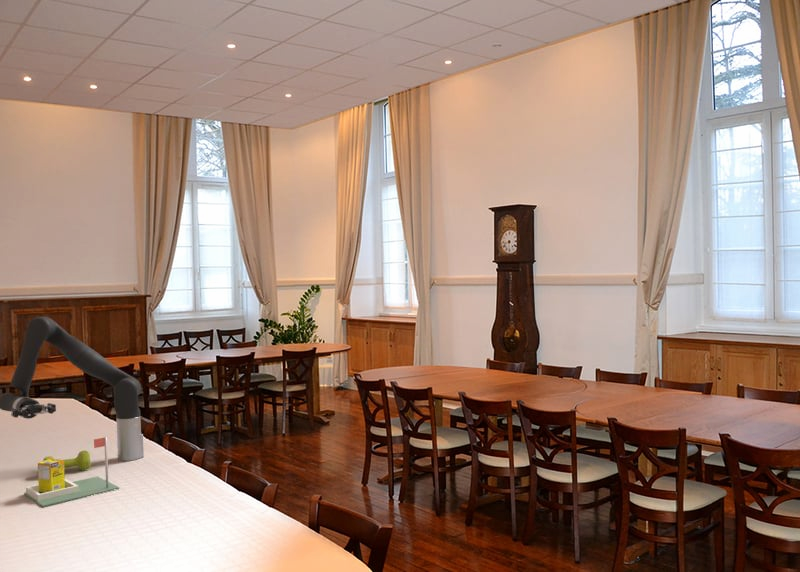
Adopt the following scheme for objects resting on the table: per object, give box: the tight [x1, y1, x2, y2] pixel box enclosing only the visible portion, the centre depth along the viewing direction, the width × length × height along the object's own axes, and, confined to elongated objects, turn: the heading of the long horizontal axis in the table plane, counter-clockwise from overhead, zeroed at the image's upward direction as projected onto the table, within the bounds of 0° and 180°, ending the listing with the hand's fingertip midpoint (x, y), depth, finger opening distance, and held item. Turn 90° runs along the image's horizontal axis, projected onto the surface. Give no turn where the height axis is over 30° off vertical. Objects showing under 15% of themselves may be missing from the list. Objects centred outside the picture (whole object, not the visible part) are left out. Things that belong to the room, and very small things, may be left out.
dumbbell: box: [42, 450, 91, 471], centre depth 262 cm, size 16×8×7 cm, turn 126°
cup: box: [23, 436, 120, 508], centre depth 238 cm, size 25×20×19 cm
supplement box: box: [37, 458, 66, 494], centre depth 236 cm, size 6×6×11 cm
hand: (39, 412), depth 249 cm, fingers open, 8 cm apart
